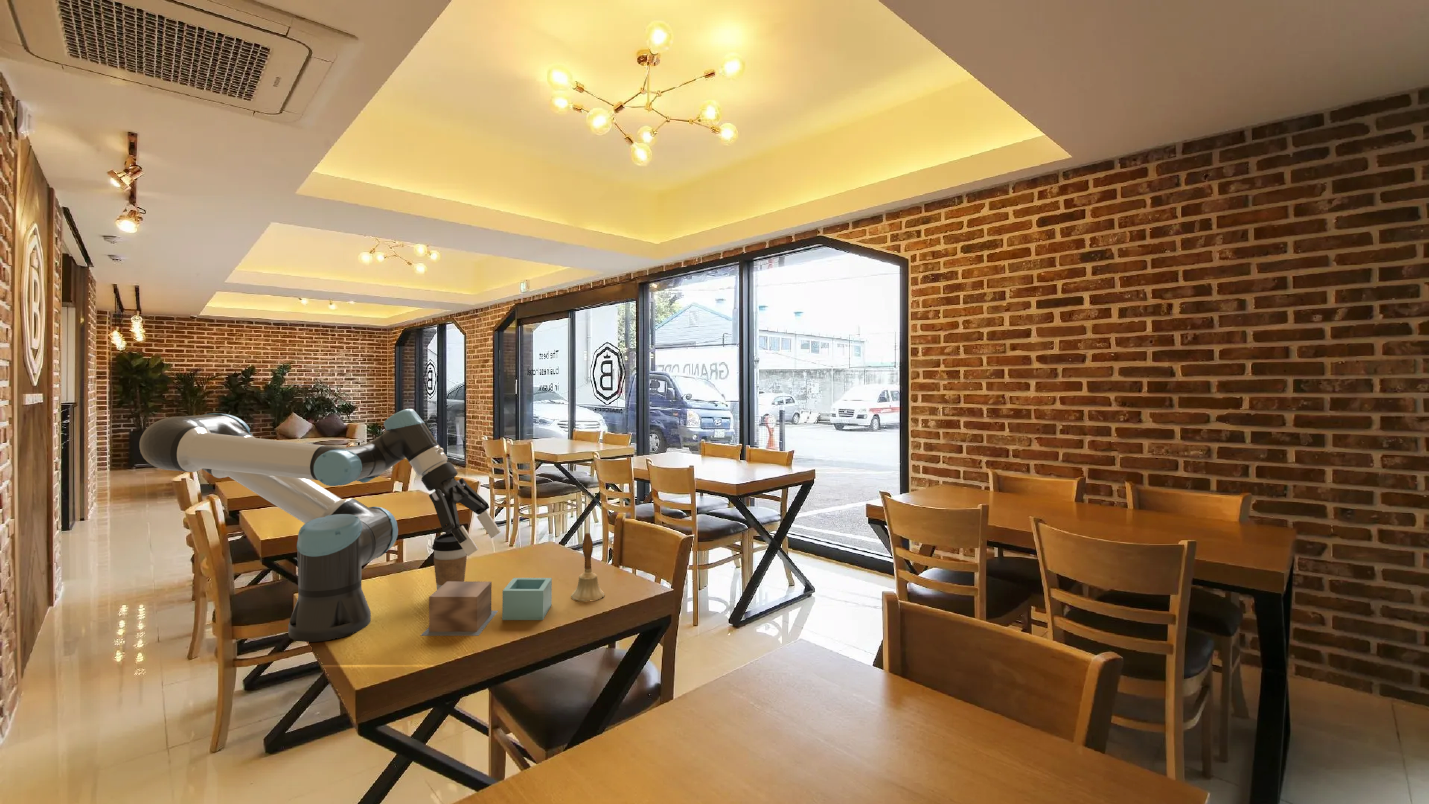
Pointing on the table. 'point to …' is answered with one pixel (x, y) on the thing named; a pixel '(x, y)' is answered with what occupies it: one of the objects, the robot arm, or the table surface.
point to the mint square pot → (527, 599)
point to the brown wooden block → (460, 606)
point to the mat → (427, 633)
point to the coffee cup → (448, 559)
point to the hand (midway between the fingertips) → (485, 543)
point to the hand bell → (587, 576)
